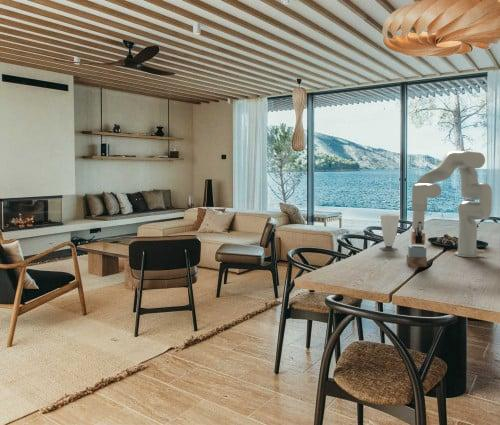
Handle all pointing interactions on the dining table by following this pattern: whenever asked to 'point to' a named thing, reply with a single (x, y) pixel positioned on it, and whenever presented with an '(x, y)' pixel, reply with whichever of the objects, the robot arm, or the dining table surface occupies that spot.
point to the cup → (389, 230)
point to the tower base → (416, 261)
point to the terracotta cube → (415, 238)
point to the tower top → (417, 251)
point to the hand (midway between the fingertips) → (417, 241)
